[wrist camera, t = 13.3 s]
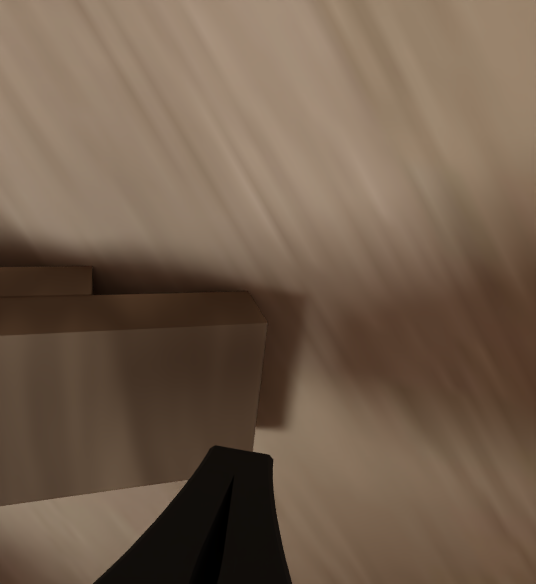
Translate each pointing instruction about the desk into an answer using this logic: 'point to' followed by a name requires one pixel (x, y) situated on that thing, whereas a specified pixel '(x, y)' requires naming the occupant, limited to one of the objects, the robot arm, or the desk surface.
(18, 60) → the desk surface
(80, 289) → the domino
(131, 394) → the domino
